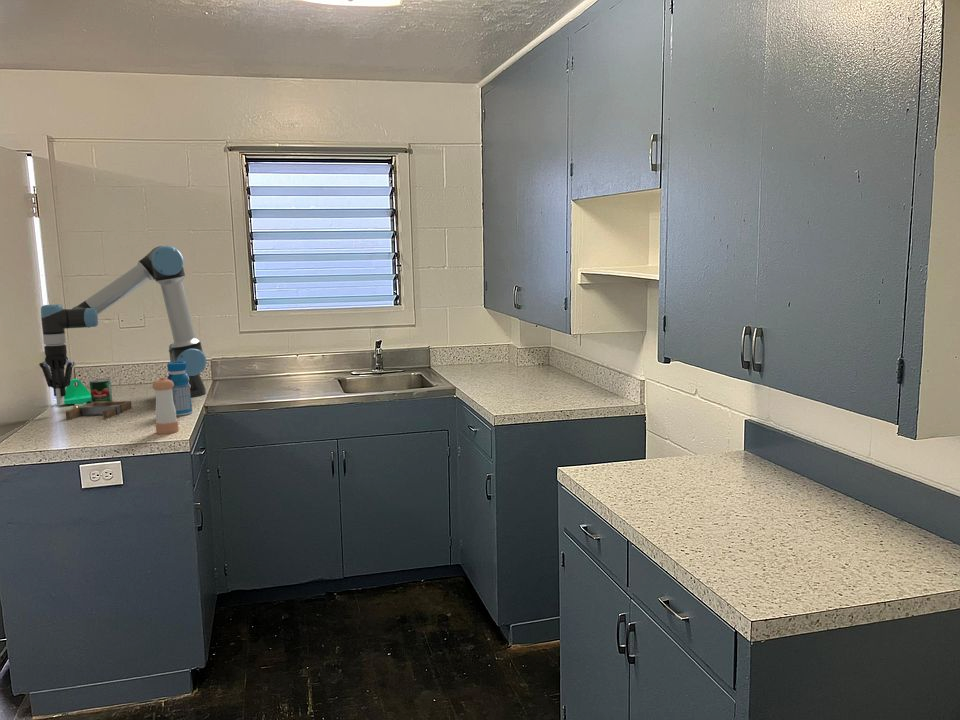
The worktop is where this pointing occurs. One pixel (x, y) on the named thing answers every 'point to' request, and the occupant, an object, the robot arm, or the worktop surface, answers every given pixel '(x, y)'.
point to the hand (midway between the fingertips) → (60, 404)
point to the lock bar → (96, 409)
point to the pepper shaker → (165, 407)
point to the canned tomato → (100, 390)
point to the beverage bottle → (180, 387)
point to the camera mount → (76, 393)
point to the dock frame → (106, 414)
